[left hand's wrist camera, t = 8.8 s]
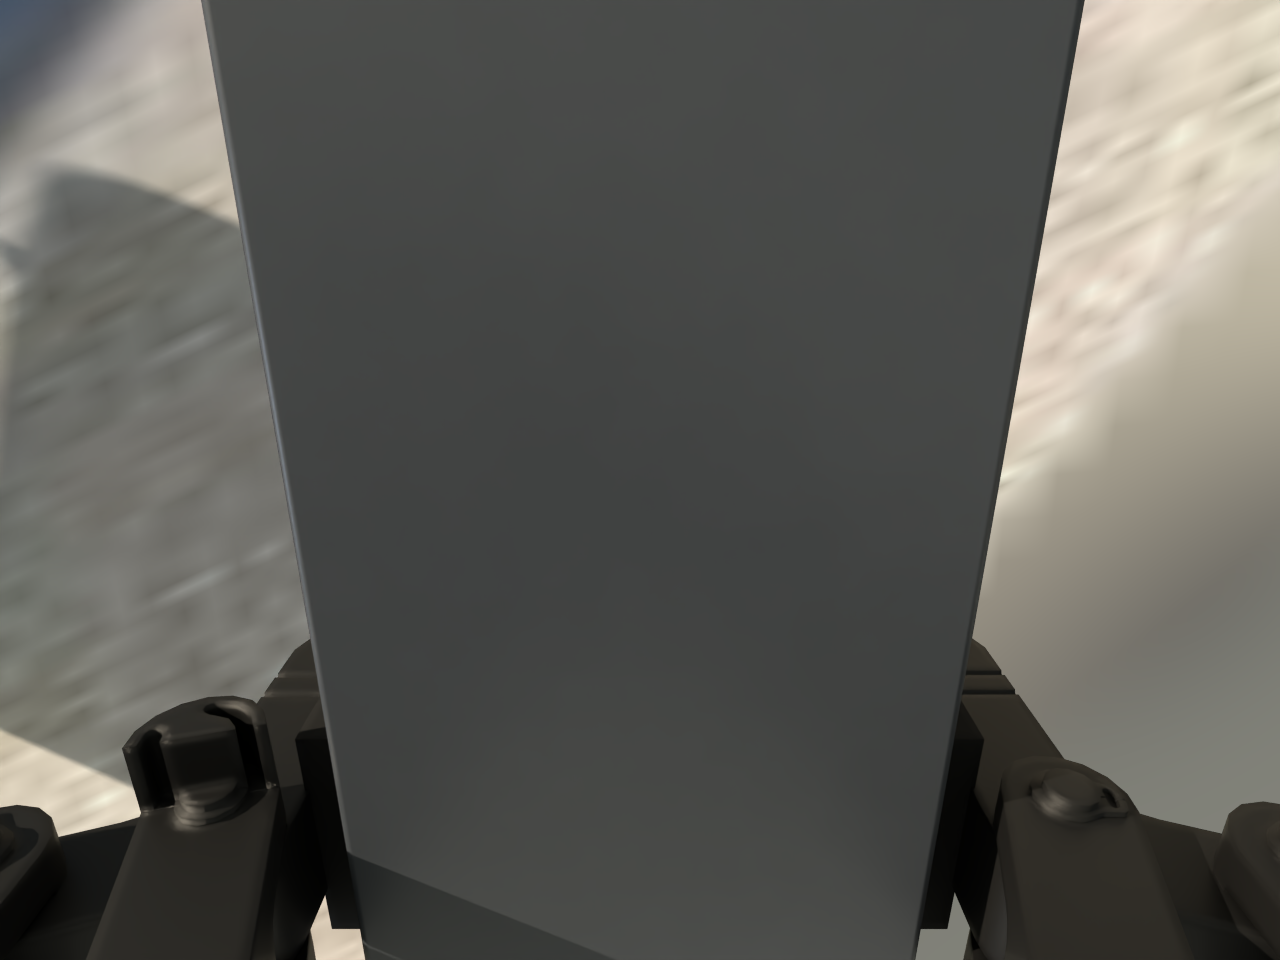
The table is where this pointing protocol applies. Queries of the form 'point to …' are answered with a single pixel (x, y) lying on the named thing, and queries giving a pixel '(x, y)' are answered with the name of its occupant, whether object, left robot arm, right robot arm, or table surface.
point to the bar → (641, 442)
